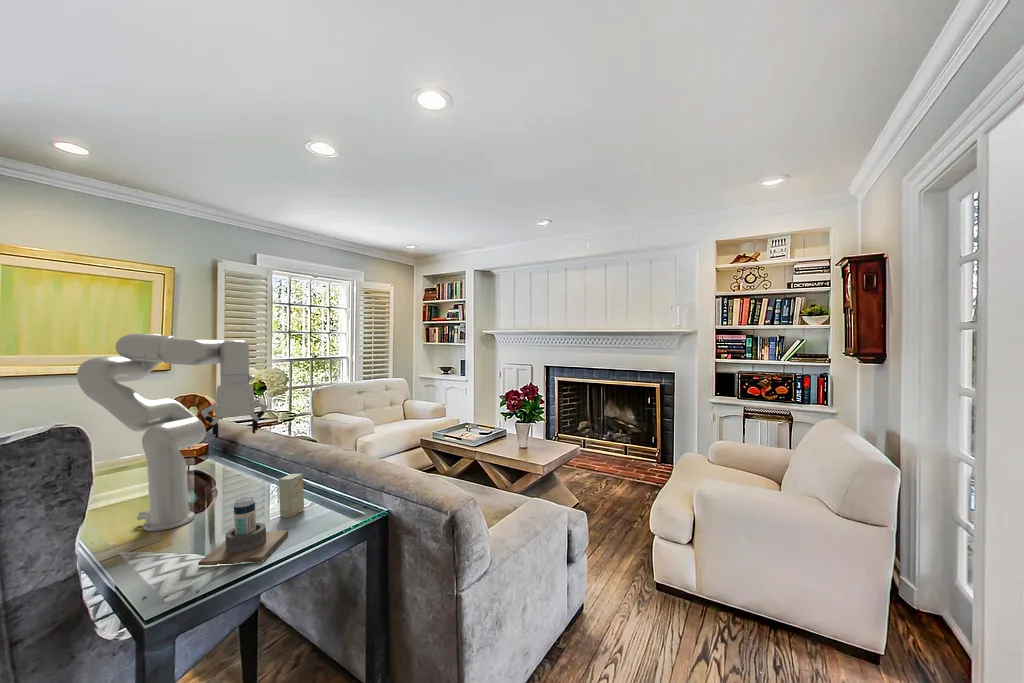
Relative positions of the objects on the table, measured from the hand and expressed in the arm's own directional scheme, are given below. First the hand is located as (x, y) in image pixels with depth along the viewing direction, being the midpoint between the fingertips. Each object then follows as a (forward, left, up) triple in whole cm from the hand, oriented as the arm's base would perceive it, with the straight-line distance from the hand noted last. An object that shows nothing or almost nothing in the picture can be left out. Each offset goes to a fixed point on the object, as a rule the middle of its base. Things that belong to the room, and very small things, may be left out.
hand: (235, 434), depth 130 cm
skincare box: (+14, +4, -28) cm, 31 cm away
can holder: (+12, -20, -27) cm, 36 cm away
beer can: (+12, -20, -26) cm, 35 cm away
